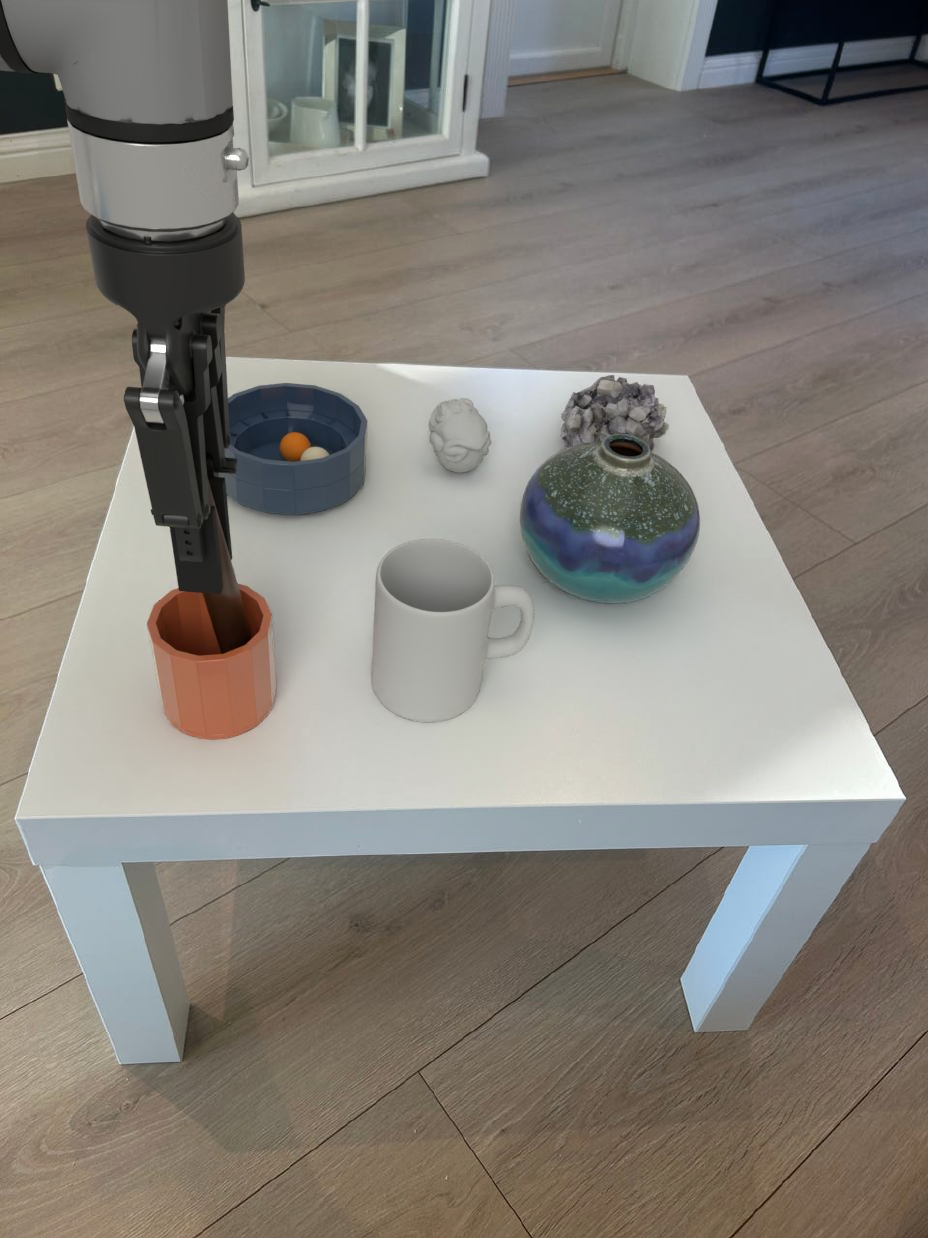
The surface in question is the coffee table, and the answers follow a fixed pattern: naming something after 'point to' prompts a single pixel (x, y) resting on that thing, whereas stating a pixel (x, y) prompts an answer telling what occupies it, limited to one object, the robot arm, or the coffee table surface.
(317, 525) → the coffee table surface
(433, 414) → the frog figurine
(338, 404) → the bowl
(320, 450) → the ball
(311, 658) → the coffee table surface
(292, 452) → the ball
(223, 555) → the stick
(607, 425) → the mineral specimen
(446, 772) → the coffee table surface
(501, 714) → the coffee table surface
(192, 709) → the holder
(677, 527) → the vase
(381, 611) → the mug
